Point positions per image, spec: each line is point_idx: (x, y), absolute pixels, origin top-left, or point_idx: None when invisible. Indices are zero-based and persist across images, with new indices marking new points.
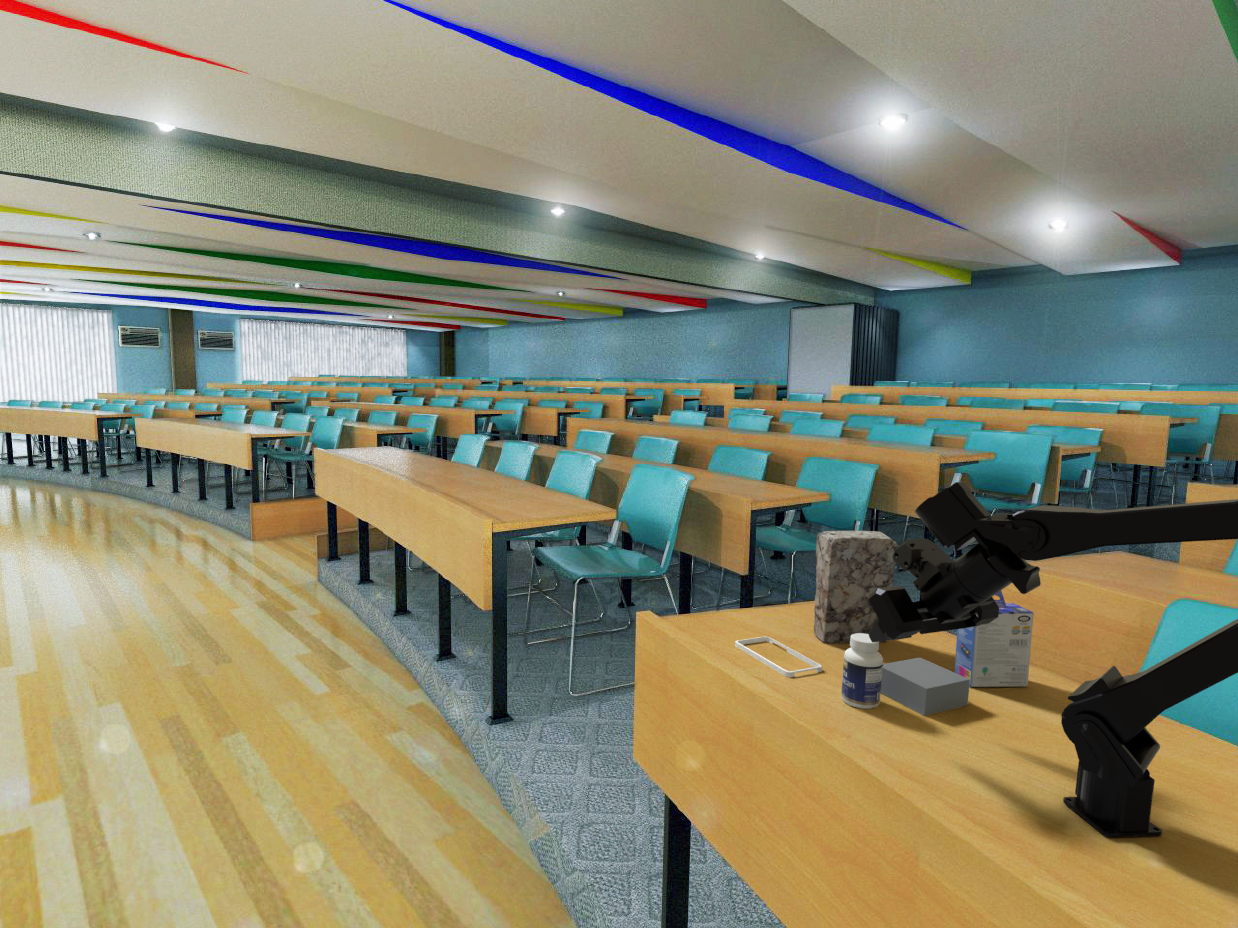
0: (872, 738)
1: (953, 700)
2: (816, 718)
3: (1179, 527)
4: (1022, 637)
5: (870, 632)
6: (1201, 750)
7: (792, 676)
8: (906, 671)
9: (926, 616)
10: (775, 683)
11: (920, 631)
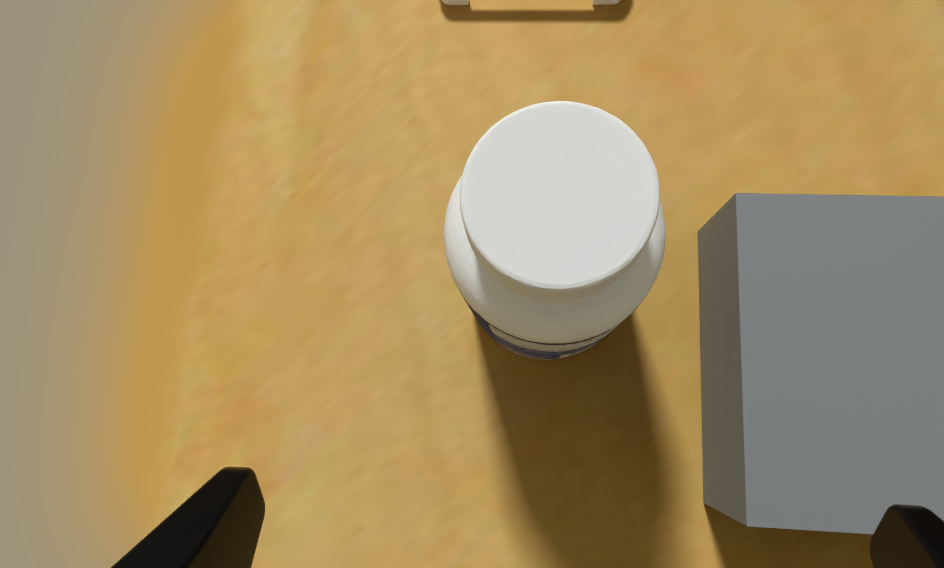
0: (332, 545)
1: None
2: (265, 325)
3: None
4: None
5: (187, 505)
6: None
7: (459, 4)
8: (826, 314)
9: None
10: (349, 31)
11: (879, 552)
